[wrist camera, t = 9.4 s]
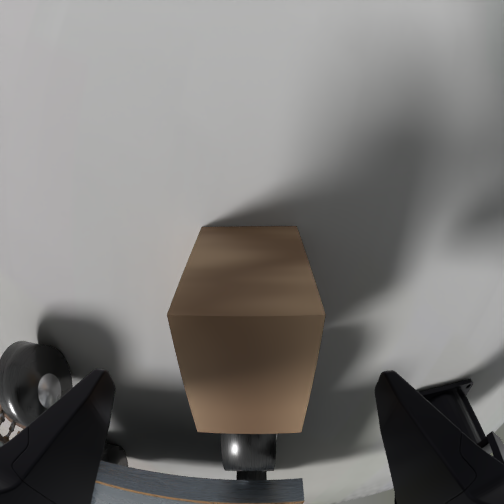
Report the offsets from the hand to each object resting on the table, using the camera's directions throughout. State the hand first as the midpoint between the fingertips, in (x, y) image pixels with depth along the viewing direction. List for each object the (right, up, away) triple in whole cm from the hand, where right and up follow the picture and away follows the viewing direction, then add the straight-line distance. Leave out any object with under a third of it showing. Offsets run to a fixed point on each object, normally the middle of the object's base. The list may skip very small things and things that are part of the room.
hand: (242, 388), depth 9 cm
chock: (0, +3, +5) cm, 6 cm away
